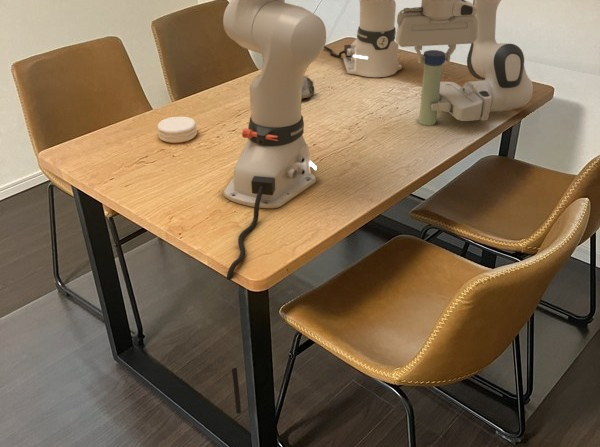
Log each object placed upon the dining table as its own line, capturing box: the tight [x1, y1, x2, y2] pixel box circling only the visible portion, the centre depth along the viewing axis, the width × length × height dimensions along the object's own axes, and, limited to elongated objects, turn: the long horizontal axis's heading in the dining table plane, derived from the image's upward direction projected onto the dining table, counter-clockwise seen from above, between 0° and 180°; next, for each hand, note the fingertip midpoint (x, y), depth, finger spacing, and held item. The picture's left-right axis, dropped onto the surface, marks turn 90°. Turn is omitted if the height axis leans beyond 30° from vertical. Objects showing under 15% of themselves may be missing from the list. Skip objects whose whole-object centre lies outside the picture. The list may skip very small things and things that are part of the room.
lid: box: [423, 49, 446, 65], centre depth 159 cm, size 5×6×2 cm
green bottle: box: [418, 63, 443, 126], centre depth 164 cm, size 5×5×18 cm
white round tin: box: [156, 116, 198, 144], centre depth 162 cm, size 10×10×4 cm
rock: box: [301, 75, 315, 100], centre depth 186 cm, size 15×10×7 cm
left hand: (433, 61), depth 160 cm, fingers closed on lid, 5 cm apart
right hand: (426, 102), depth 166 cm, fingers closed on green bottle, 4 cm apart
